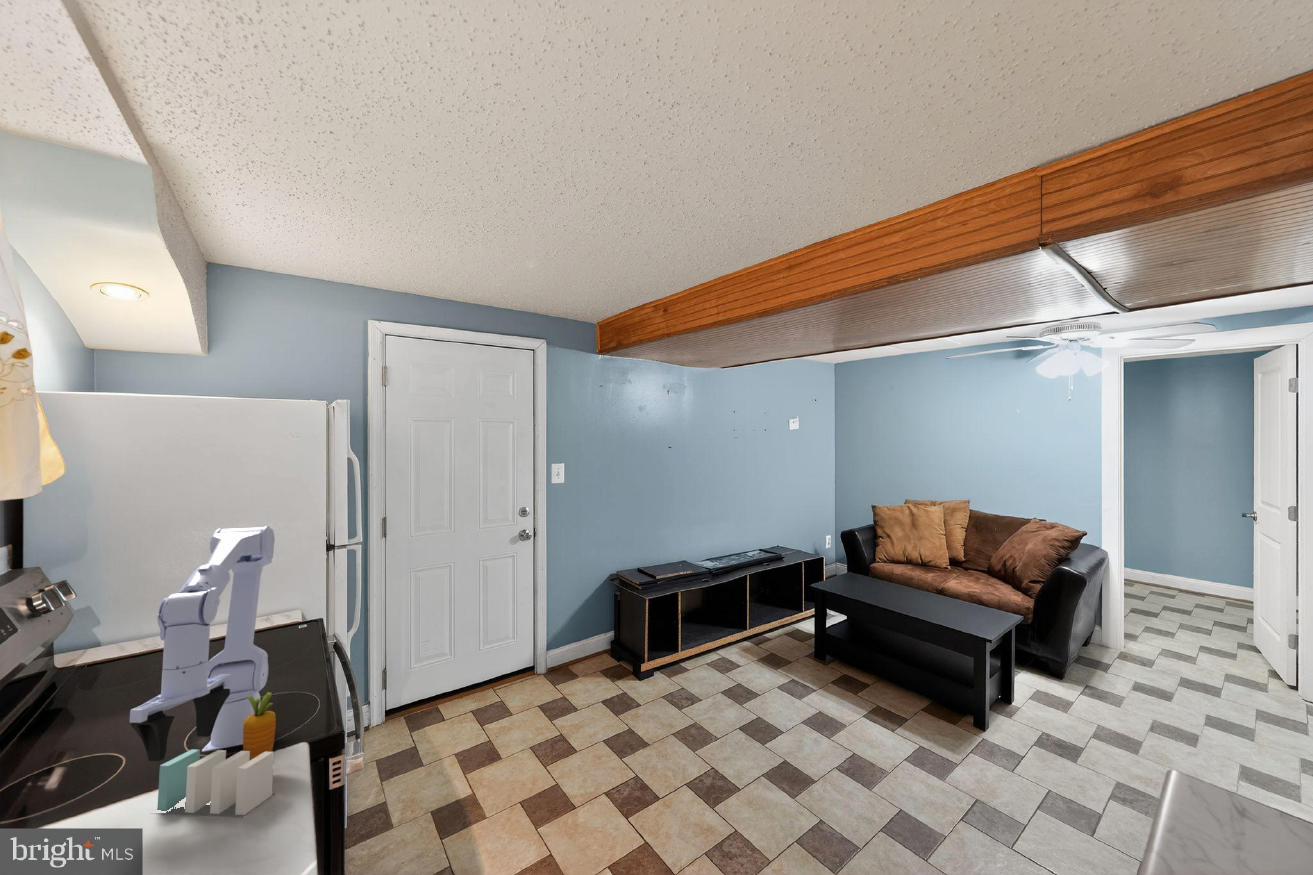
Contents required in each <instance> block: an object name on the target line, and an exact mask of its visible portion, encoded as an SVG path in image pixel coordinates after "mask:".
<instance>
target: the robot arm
mask: <svg viewBox="0 0 1313 875" xmlns="http://www.w3.org/2000/svg"><path fill="white" fill-rule="evenodd" d="M275 538H276V537H275V533H274V529H273V528H272V527H271V526H270V525H266V526H256V527H254V526H253V527H252V526H251V527H238V528H237V527H235V528H222V527H221V528H217V529H216V530H214V531H213V533H212V535H211V537H210V540H209V551H210V553H211V555H210V557H209V559H208V561H207V563H206V564H203V565H200V566H198V568H196V569H194V571H193V572H192V573H191V574H190V576H189V577H188V579H186V581H185V582H184V584H183V585H182V587H181V588H180V589H179V590H178V592H177V593H171V594H170V595H169V596H168V597H167V596H166V597H165V598H164V599H163V600H162V601H161V603H160V605H159V607H158V608H159V609H158V612H157V615H156V616H157V617H156V618H157V625H158V627H159V630H160V634H159V638H160V640H161V641H163V656H162V671H161V672H162V673H161V688H160V689H161V691H160V694H158V695H157V696H155V697H153V698H151V699H149V700H148V701H146V702H144V703H143V704H141V705H139V706H137V707H134V708H131V709H130V712H129V723H130V726H131V728H133V730H134V731H135V732H136V733H137V735H138V736H139V738H140V739H141V741H142V744H143V746H144V748H145V752H146V755H147V758H148V759H147V760H148V761H149V762H161V761H163V760H165V757H166V753H167V745H168V744H167V743H168V737H169V732H170V729H171V727H172V724H173V722H174V719H175V716H174V715H166V713H164V712H165V711H167V710H171V709H173V708H176V707H177V706H179V705H183V704H185V703H187V702H189V701H193V705H194V708H195V715H196V716H195V717H196V718H195V720H196V723H195V725H196V726H195V728H196V736H197V737H201V738H205V737H206V738H208V737H209V736H210V741H209V742H208V743H207V744H206V745H205V746H204V747H203V748H202V749H201V753H202V752H203V753H205V752H210V751H217V750H222V749H225V748H231V747H236V746H241V745H242V746H243V724H244V720H245V719H246V718H247V717H249V716H251V715H253V714H254V709H253V707H252V705H251V703H250V701H249V699H248V698H249V697H250V696H252V697H253V698H254V700H256V699H257V698H259V699H260V700H261V695H260V691H261V690H263V688H264V687H265V686H266V684H267V681H268V677H269V663H268V661H269V660H268V658H269V655H268V652H266V650H264V649H262V648H261V647H258V646H257V645H255V644H254V640H255V631H256V622H257V621H256V620H257V613H258V604H259V594H260V586H261V577H262V572H263V570H264V569H263V568H264V567H266V566H268V565H269V564H271V563H272V561H273V557H274V549H275V541H276V540H275ZM230 571H231V572H232V573H233V576H232V586H231V590H230V593H231V594H230V601H229V608H228V615H227V616H228V617H227V625H226V633H225V641H224V642H225V643H224V648H223V650H221V651H220V652H218V653H217V654H216V655H214V656H213V657H211V659H209V653H210V636H211V635H210V633H211V631H210V630H211V623H213V622H214V620H215V619H216V616H217V613H218V608H219V605H220V603H221V599H220V598H221V595H222V593H223V592H224V590H225V588H226V587H227V586H228V585H229V582H230V581H231V574H230ZM241 661H243V662H241ZM233 662H237V663H233ZM225 663H228V664H225ZM260 704H261V701H260V702H259V706H258V710H259V707H260Z"/></svg>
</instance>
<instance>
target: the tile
mask: <svg viewBox="0 0 1313 875" xmlns="http://www.w3.org/2000/svg"><path fill="white" fill-rule="evenodd" d="M200 755H201V749H193V748H191V749H190V750H188V751H186V752H184V753H181V754H180V755H177V756H176V757H174V758H172V759H170V760H169V761H166V762H164V763H162V764H160V765H159V774H158V775H159V776H158V777H159V778H158V794H157V808H156V809H157V810H161V811H167V810H169V809H170V808H172V807H174V806H175V805H176V804H177V803H179V801H181V800H182V799H184V798H185V797H186V784H187V766H189V765H191V764H193V763H195V762H197V761H198V760H200V759H201V758H200V757H201V756H200Z"/></svg>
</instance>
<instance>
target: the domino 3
mask: <svg viewBox="0 0 1313 875" xmlns="http://www.w3.org/2000/svg"><path fill="white" fill-rule="evenodd" d="M274 753H275V752H274V751H272V752H266V751H265V752H263V753H262V754H260V755H258V756H257V757H255V758H254V759H252V760H250V761H249V762H247V763H245V764H244V765H242V766H240V767H239V768H237V788H236V810H235V815H245V814H247V813H248V812H249V811H251V810H252V809H254V808H255V807H256V806H258V805H259V804H261V803H262V802H263V801H265V800H266V799H268V798H269V797H270V796H272V793H273V782H274V781H273V779H274V778H273V777H274V775H273V774H274V773H273V772H274V757H275V756H274V755H275V754H274ZM272 797H273V796H272ZM269 799H270V798H269ZM269 799H268V800H269ZM266 801H267V800H266ZM266 801H265V802H266ZM262 804H263V803H262ZM262 804H261V805H262ZM259 806H260V805H259ZM259 806H258V807H259ZM255 809H256V808H255ZM255 809H254V810H255ZM252 811H253V810H252ZM252 811H251V812H252ZM248 814H249V813H248ZM248 814H247V815H248ZM245 816H246V815H245Z"/></svg>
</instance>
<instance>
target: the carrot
mask: <svg viewBox="0 0 1313 875" xmlns="http://www.w3.org/2000/svg"><path fill="white" fill-rule="evenodd" d="M271 697H272V692H269V691H268V692H266V693H265V695H264V696H263V697H262V699H261V698H260V699H259V698H257V699H256V700H254V698H253V697H252V696H250V697H249V698H248V699H249V701H250V703H251V705H252V707H253V709H254V714H253V715H251V716H249V717H247V718H246V719H245V720H244V724H243V744H242V749H243V750H242V751H250V757H249V761H250V760H252V759H254V758H255V757H257V756H258V755H260V754H262V753H263V752H265V751H266V752H273V747H274V744H275V735H276V722H277V717H276V713H275V712H274V711H272V710H268V709H269V708H271V707H272V705H273V704H274V703H273V702H269V701H270V699H271ZM259 702H260V707H259V710H258V706H259Z"/></svg>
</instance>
